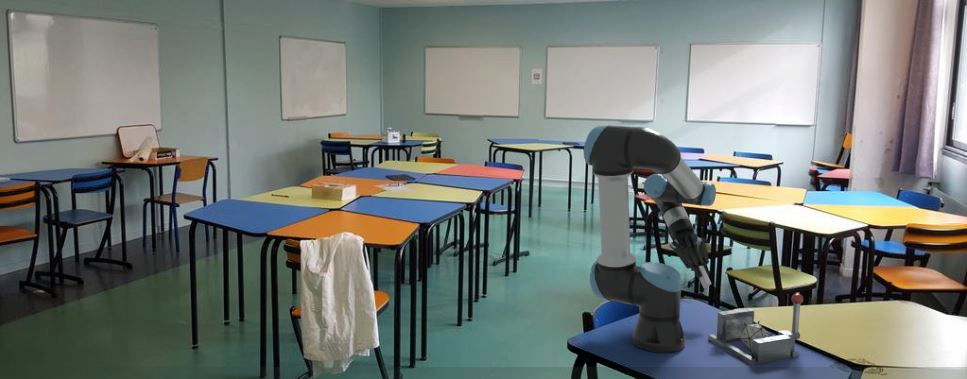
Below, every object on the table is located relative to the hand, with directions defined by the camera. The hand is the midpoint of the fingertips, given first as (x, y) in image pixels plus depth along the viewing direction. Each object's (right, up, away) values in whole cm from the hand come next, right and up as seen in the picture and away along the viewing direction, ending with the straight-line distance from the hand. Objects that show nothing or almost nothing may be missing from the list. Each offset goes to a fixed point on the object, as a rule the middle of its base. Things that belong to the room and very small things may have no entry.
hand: (707, 285), depth 220 cm
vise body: (+7, -15, -19) cm, 25 cm away
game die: (+7, -16, -20) cm, 27 cm away
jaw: (+4, -14, -12) cm, 19 cm away
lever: (+19, -13, -20) cm, 30 cm away
